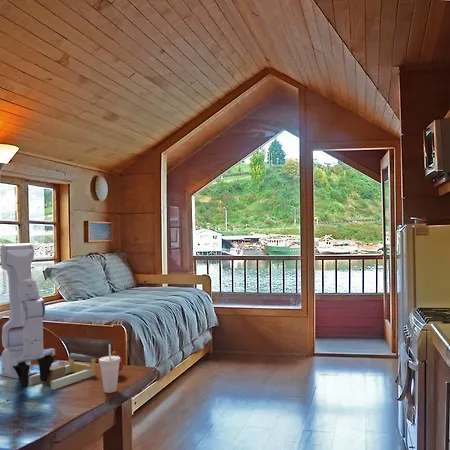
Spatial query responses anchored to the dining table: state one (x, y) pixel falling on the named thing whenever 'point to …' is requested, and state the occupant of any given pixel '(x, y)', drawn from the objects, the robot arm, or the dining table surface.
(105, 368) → the smoothie
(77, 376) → the cream u-shaped frame
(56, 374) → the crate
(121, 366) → the onion
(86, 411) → the dining table surface
